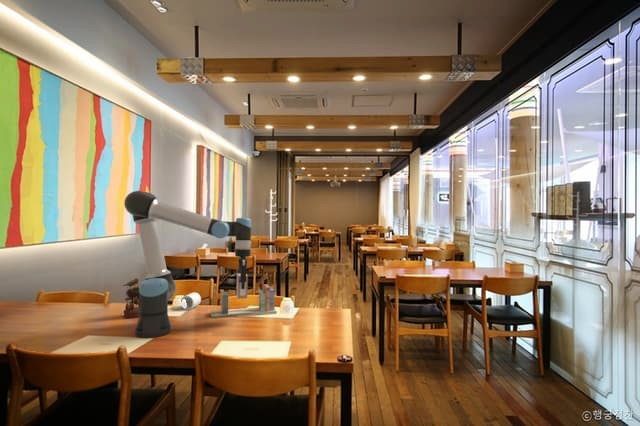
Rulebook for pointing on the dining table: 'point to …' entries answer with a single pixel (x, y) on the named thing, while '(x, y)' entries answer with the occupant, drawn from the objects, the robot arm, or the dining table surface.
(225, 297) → the bookend
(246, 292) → the book
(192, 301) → the mug
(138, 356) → the dining table surface
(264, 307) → the rail
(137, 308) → the music box
